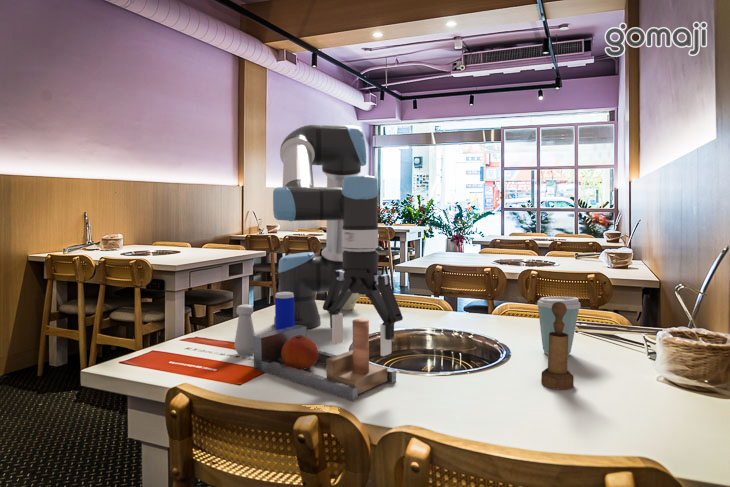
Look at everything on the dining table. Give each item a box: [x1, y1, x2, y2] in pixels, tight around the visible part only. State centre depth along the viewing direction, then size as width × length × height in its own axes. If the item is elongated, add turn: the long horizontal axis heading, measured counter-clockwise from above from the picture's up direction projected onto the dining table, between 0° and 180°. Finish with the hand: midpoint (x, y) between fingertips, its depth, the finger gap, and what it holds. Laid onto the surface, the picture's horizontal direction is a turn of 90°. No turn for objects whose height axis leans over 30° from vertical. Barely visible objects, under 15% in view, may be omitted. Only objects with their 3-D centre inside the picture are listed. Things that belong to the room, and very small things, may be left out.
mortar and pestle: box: [540, 302, 574, 391], centre depth 109 cm, size 7×6×18 cm
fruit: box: [281, 335, 319, 371], centre depth 121 cm, size 9×9×8 cm
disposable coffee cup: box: [536, 296, 582, 357], centre depth 132 cm, size 11×11×15 cm
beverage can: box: [274, 291, 294, 330], centre depth 139 cm, size 5×5×15 cm
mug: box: [338, 292, 362, 311], centre depth 189 cm, size 11×10×12 cm
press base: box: [253, 325, 397, 402], centre depth 116 cm, size 14×32×8 cm, turn 50°
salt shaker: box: [233, 303, 256, 357], centre depth 132 cm, size 6×6×13 cm
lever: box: [326, 318, 388, 394], centre depth 109 cm, size 11×8×14 cm
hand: (360, 348), depth 108 cm, fingers open, 13 cm apart
